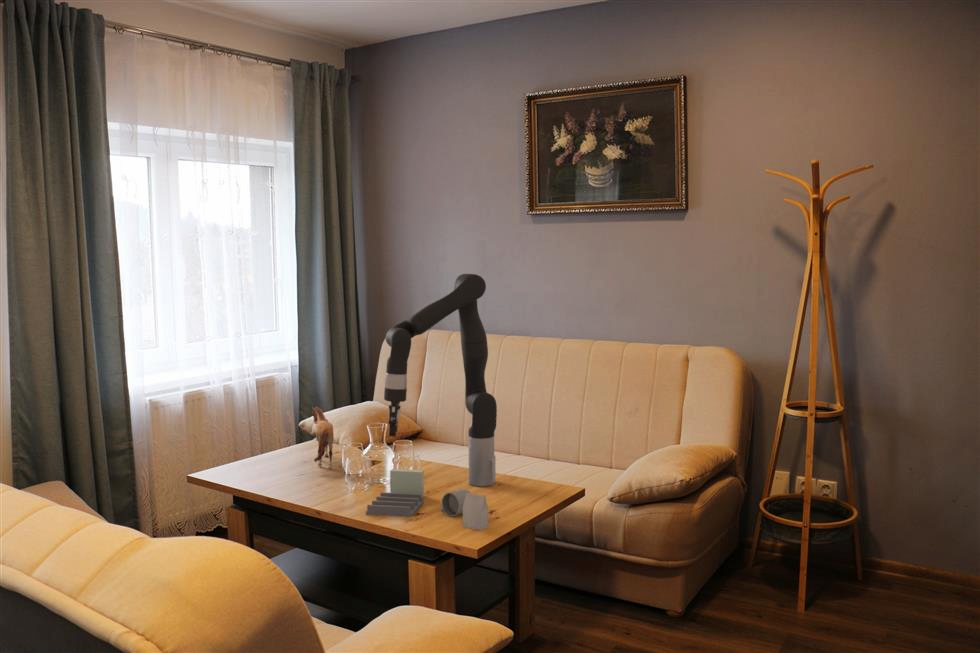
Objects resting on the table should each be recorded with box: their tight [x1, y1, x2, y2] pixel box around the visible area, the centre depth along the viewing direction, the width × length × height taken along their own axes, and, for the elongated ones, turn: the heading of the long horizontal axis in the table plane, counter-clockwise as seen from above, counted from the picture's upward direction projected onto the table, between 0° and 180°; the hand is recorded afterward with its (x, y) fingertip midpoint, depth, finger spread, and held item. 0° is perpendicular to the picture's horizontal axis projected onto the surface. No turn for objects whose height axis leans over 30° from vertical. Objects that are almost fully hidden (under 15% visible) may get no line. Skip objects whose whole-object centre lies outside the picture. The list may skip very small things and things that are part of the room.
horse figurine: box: [311, 406, 335, 469], centre depth 325 cm, size 31×8×21 cm, turn 13°
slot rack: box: [365, 491, 424, 518], centre depth 267 cm, size 15×14×3 cm
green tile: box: [389, 468, 425, 499], centre depth 281 cm, size 11×2×9 cm, turn 80°
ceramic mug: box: [439, 489, 471, 518], centre depth 263 cm, size 11×8×8 cm
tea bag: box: [462, 492, 489, 531], centre depth 249 cm, size 4×7×10 cm, turn 58°
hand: (393, 433), depth 282 cm, fingers open, 8 cm apart
